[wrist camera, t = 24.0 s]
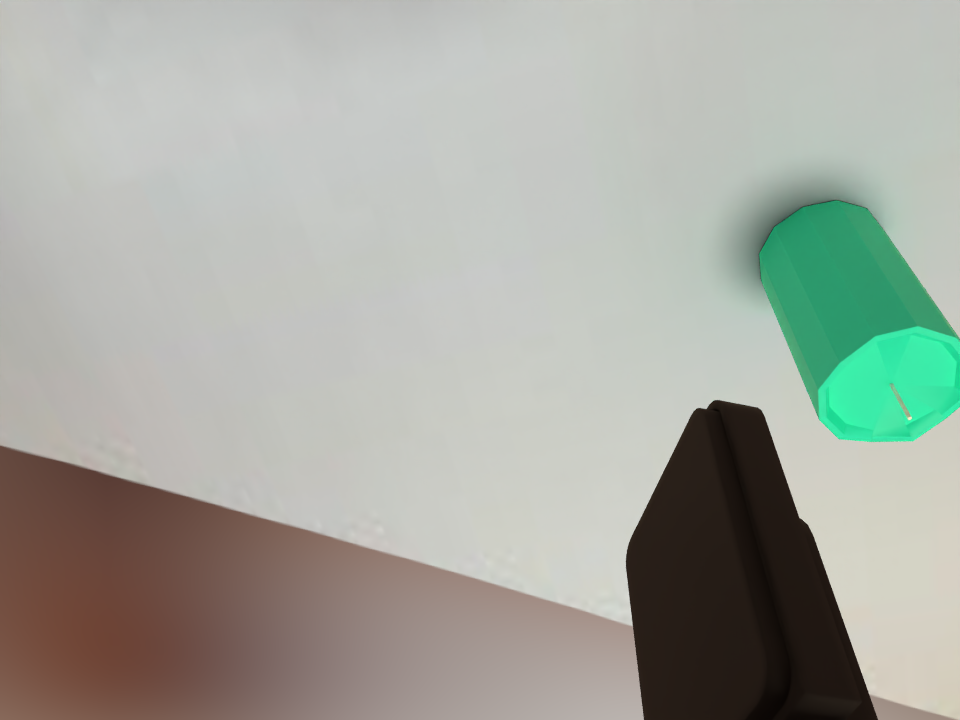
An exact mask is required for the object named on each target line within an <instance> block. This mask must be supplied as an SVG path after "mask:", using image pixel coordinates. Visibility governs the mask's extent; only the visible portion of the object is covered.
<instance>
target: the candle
mask: <svg viewBox="0 0 960 720" xmlns="http://www.w3.org/2000/svg"><path fill="white" fill-rule="evenodd" d="M759 260H760V273H761V281H762V284H763V286H764V289H765V291H766V293H767V296H768V298H769V301H770V303H771V305H772V308H773V310H774V313H775V315H776V317H777V320H778V322H779V325H780V327H781V329H782V332H783V334H784V337H785V339H786V341H787V344H788V346H789V348H790V351H791V353H792V356H793V358H794V360H795V363H796V365H797V368H798V370H799V372H800V375H801V377H802V380H803V382H804V384H805V387H806V389H807V392H808V394H809V396H810V399H811V401H812V404H813V406H814V408H815V411H816V413H817V416H818V418H819V420H820V421H821V422H822V423H823V424H824V425H825V426H826V427H827V428H828V429H829V430H830V431H831V432H832V433H833V434H834V435H835V436H836V437H837V438H838V439H843V440H855V441H867V442H892V441H914V440H915V439H917V438H918V437H920V436H921V435H923V434H924V433H926V432H927V431H929V430H930V429H931V428H933V427H934V426H936V425H937V424H939V423H940V422H942V421H943V420H944V419H946V418H947V417H948V416H950V415H951V414H952V413H953V412H954V411H955V410H957V409H958V408H959V407H960V339H959V337H958V336H957V334H956V333H955V331H954V330H953V329H952V327H951V326H950V324H949V323H948V321H947V320H946V319H945V317H944V316H943V314H942V313H941V311H940V310H939V309H938V307H937V306H936V304H935V303H934V301H933V300H932V298H931V297H930V296H929V294H928V293H927V291H926V290H925V288H924V287H923V286H922V284H921V283H920V281H919V280H918V278H917V277H916V276H915V274H914V273H913V271H912V270H911V268H910V267H909V265H908V264H907V263H906V261H905V260H904V258H903V257H902V255H901V254H900V253H899V251H898V250H897V248H896V247H895V245H894V244H893V243H892V241H891V240H890V238H889V237H888V235H887V234H886V232H885V231H884V230H883V228H882V227H881V226H880V225H879V223H878V222H877V221H876V219H875V218H874V217H873V216H872V214H871V213H870V212H869V211H868V209H867V208H863V207H860V206H856V205H853V204H849V203H845V202H842V201H838V200H835V201H830V202H825V203H820V204H815V205H811V206H806V207H802V208H801V209H799V210H798V211H796V212H795V213H793V214H792V215H791V216H789V217H788V218H786V219H785V220H784V221H782V222H781V223H779V224H778V225H776V226H775V227H774V228H773V230H772V232H771V234H770V235H769V237H768V239H767V241H766V243H765V244H764V246H763V248H762V250H761V252H760V253H759Z"/></svg>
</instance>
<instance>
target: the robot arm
mask: <svg viewBox="0 0 960 720" xmlns="http://www.w3.org/2000/svg"><path fill="white" fill-rule="evenodd" d="M626 571H627V579H628V588H629V596H630V605H631V613H632V621H633V630H634V638H635V647H636V655H637V664H638V672H639V681H640V689H641V697H642V706H643V714H644V720H878V719H877V716H876V713H875V710H874V707H873V704H872V702H871V699H870V696H869V693H868V690H867V687H866V684H865V682H864V679H863V676H862V673H861V670H860V667H859V664H858V662H857V659H856V656H855V653H854V650H853V647H852V645H851V642H850V639H849V636H848V633H847V630H846V628H845V625H844V622H843V619H842V616H841V613H840V610H839V608H838V605H837V602H836V599H835V596H834V593H833V591H832V588H831V585H830V582H829V579H828V576H827V574H826V571H825V568H824V565H823V562H822V559H821V556H820V554H819V551H818V548H817V545H816V542H815V539H814V537H813V534H812V532H811V530H810V528H809V526H808V525H807V524H806V523H805V522H804V521H803V520H802V519H800V518H799V516H798V513H797V510H796V507H795V504H794V501H793V498H792V495H791V492H790V489H789V487H788V484H787V481H786V478H785V475H784V472H783V469H782V466H781V463H780V460H779V457H778V454H777V451H776V449H775V446H774V443H773V440H772V437H771V434H770V431H769V428H768V425H767V422H766V419H765V416H764V414H763V413H762V411H761V410H760V409H759V408H756V407H751V406H746V405H741V404H736V403H730V402H725V401H720V400H715V401H713V402H712V403H711V404H710V405H709V406H708V408H707V409H702V408H697V409H696V410H695V411H694V412H693V414H692V415H691V417H690V419H689V421H688V423H687V425H686V427H685V429H684V431H683V433H682V435H681V437H680V440H679V442H678V444H677V446H676V448H675V450H674V452H673V454H672V456H671V458H670V460H669V462H668V464H667V466H666V468H665V470H664V472H663V474H662V476H661V478H660V480H659V482H658V484H657V486H656V488H655V490H654V492H653V494H652V496H651V498H650V501H649V503H648V505H647V507H646V509H645V511H644V513H643V515H642V517H641V519H640V521H639V523H638V525H637V527H636V529H635V531H634V533H633V535H632V537H631V539H630V542H629V545H628V549H627V555H626Z"/></svg>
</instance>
